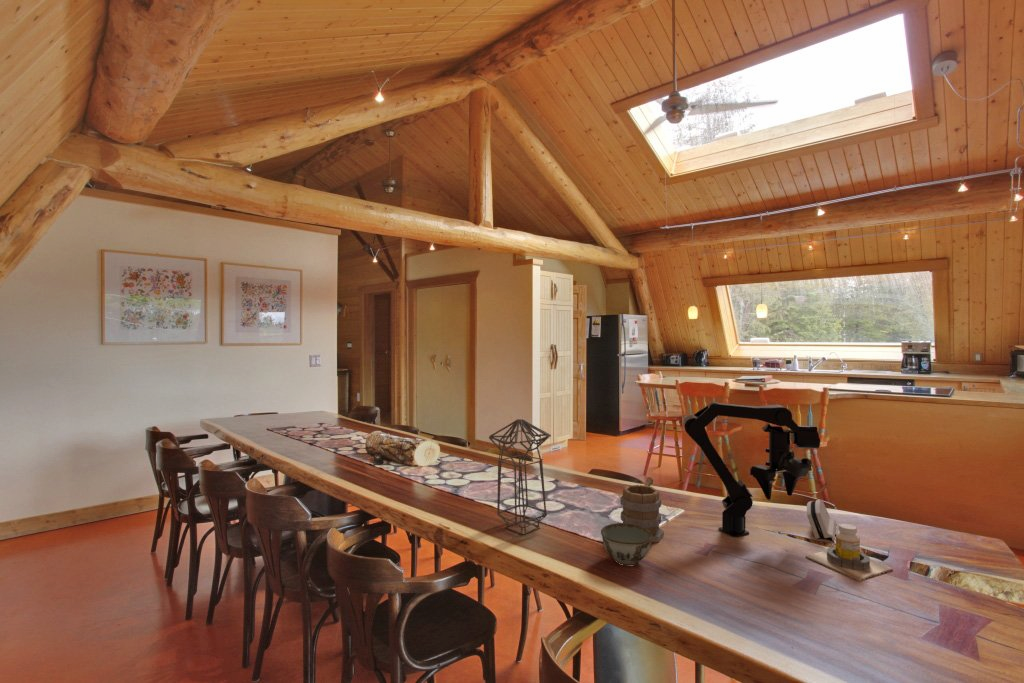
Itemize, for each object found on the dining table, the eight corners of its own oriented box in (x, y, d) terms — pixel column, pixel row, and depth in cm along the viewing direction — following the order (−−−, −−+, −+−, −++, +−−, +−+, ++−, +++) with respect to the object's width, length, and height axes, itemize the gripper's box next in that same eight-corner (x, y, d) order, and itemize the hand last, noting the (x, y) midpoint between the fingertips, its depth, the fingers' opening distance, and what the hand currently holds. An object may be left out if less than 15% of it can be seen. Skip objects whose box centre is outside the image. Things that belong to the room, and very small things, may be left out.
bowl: (653, 554, 137) (653, 526, 137) (650, 576, 124) (650, 545, 124) (604, 547, 142) (604, 520, 142) (597, 568, 129) (597, 538, 129)
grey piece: (835, 542, 145) (821, 508, 147) (817, 544, 148) (804, 510, 149) (836, 524, 159) (824, 493, 161) (820, 526, 161) (808, 496, 163)
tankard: (655, 546, 142) (655, 495, 142) (614, 537, 149) (614, 488, 149) (672, 524, 159) (672, 478, 159) (634, 516, 166) (634, 472, 166)
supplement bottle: (858, 568, 128) (858, 532, 128) (834, 562, 131) (834, 527, 131) (860, 561, 132) (860, 525, 132) (837, 555, 135) (837, 521, 135)
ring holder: (858, 580, 122) (858, 571, 122) (805, 557, 135) (805, 548, 135) (892, 570, 128) (892, 560, 128) (838, 548, 141) (838, 540, 141)
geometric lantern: (520, 542, 145) (517, 425, 145) (488, 528, 157) (485, 419, 157) (557, 527, 156) (554, 418, 156) (523, 515, 167) (521, 413, 167)
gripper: (781, 455, 138) (781, 510, 138) (825, 449, 145) (825, 501, 146) (748, 447, 148) (748, 498, 148) (791, 442, 156) (790, 490, 156)
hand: (779, 497), depth 149 cm, fingers open, 9 cm apart
